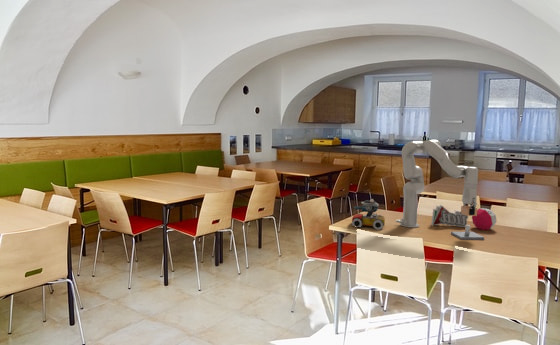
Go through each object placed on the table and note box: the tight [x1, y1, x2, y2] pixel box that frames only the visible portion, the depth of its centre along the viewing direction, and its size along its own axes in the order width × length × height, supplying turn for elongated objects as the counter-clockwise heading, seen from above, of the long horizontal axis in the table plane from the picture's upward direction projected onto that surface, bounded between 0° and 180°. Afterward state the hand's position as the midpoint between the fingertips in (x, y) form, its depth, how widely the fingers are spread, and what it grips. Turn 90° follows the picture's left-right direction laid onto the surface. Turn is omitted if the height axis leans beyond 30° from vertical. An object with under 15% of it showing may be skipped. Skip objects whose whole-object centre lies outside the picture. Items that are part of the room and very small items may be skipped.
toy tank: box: [351, 198, 386, 231], centre depth 299 cm, size 18×22×20 cm
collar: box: [460, 205, 478, 217], centre depth 274 cm, size 7×7×5 cm
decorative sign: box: [430, 204, 469, 228], centre depth 305 cm, size 24×3×15 cm, turn 84°
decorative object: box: [471, 208, 498, 231], centre depth 299 cm, size 15×15×15 cm
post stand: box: [450, 224, 485, 241], centre depth 276 cm, size 15×14×8 cm
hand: (468, 213), depth 275 cm, fingers closed on collar, 7 cm apart
